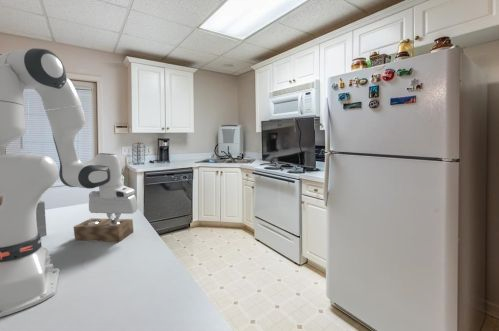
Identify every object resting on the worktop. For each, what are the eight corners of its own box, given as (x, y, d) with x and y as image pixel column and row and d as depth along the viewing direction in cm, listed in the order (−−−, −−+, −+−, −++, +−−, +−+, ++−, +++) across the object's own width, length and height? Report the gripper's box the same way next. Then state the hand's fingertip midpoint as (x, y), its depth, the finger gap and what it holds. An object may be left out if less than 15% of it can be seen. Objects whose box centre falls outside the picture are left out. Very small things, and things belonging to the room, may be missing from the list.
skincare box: (20, 237, 110) (15, 202, 108) (40, 231, 116) (35, 198, 114) (29, 241, 106) (24, 204, 104) (49, 234, 112) (44, 200, 110)
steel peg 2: (123, 233, 111) (121, 221, 110) (117, 237, 107) (116, 224, 106) (114, 233, 111) (113, 221, 110) (108, 236, 107) (107, 224, 106)
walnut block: (133, 232, 113) (132, 219, 113) (119, 241, 104) (118, 227, 103) (92, 230, 116) (91, 218, 115) (75, 240, 106) (73, 226, 105)
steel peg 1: (102, 233, 112) (100, 221, 111) (95, 236, 108) (94, 224, 107) (93, 232, 112) (92, 220, 112) (86, 236, 108) (85, 224, 108)
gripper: (83, 192, 104) (86, 224, 106) (129, 193, 102) (132, 225, 104) (94, 189, 111) (97, 219, 113) (138, 189, 108) (140, 220, 110)
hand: (114, 222), depth 108 cm, fingers closed
